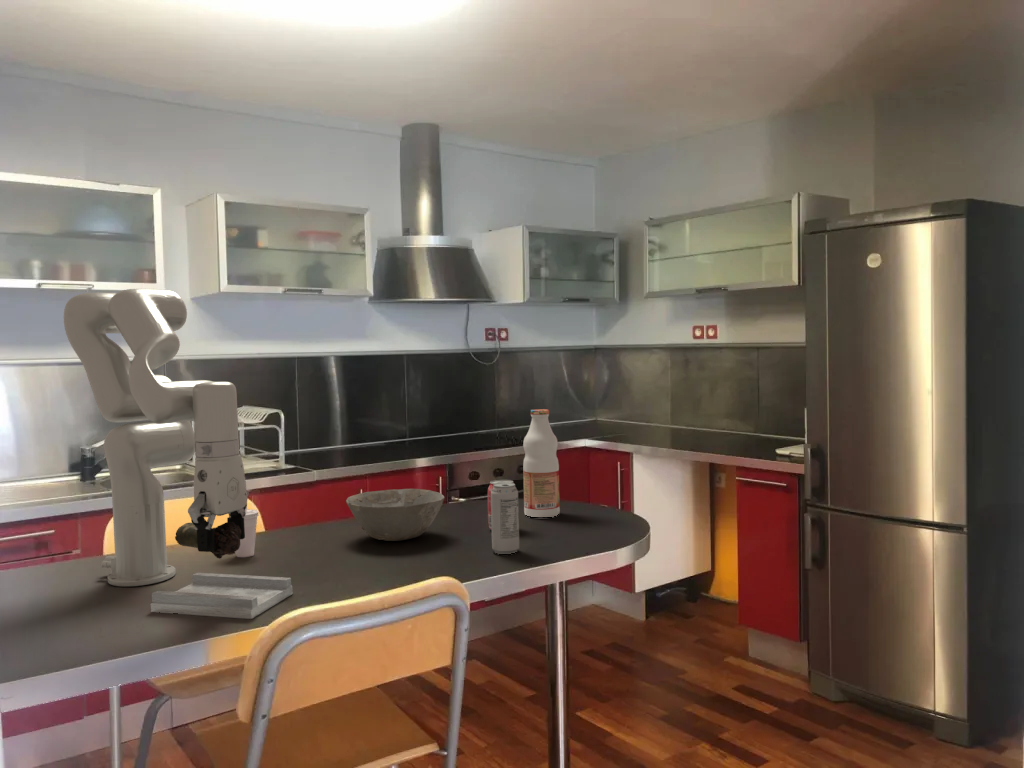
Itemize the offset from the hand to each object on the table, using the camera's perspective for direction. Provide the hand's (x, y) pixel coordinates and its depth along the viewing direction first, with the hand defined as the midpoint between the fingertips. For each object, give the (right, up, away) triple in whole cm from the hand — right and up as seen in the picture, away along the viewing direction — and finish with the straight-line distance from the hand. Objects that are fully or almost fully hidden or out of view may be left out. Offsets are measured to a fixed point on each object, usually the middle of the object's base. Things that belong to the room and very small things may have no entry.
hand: (222, 544), depth 150 cm
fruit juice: (+61, -6, +69) cm, 92 cm away
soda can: (+50, -7, +53) cm, 73 cm away
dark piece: (-2, -2, +2) cm, 4 cm away
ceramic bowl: (+25, -8, +47) cm, 54 cm away
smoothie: (-7, -9, +34) cm, 36 cm away
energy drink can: (+51, -8, +32) cm, 61 cm away
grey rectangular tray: (0, -11, +1) cm, 11 cm away
